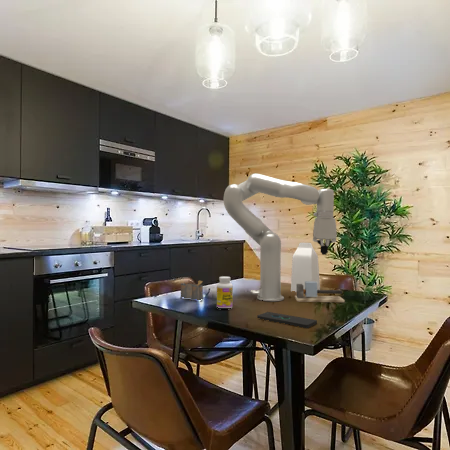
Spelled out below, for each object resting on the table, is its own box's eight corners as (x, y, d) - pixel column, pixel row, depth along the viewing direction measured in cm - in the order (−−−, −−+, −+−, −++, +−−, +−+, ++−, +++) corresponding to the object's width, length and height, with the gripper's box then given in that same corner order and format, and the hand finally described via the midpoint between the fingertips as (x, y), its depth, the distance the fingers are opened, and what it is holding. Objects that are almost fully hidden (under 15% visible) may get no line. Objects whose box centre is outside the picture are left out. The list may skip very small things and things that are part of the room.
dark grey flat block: (268, 311, 129) (317, 319, 117) (268, 315, 129) (317, 324, 117) (256, 315, 123) (307, 324, 111) (256, 320, 123) (307, 330, 110)
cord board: (297, 301, 154) (297, 286, 154) (295, 297, 162) (294, 283, 163) (344, 302, 152) (344, 286, 152) (339, 298, 161) (339, 283, 161)
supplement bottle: (221, 310, 135) (221, 278, 136) (214, 307, 141) (214, 276, 141) (235, 309, 138) (235, 277, 139) (228, 305, 144) (228, 275, 144)
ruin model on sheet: (203, 301, 155) (203, 280, 155) (199, 302, 153) (199, 281, 153) (185, 298, 162) (185, 278, 162) (180, 299, 159) (180, 279, 159)
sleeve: (306, 296, 156) (306, 282, 156) (304, 295, 160) (304, 281, 160) (317, 296, 155) (317, 282, 155) (315, 295, 159) (315, 281, 159)
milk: (290, 291, 180) (290, 242, 180) (299, 288, 189) (299, 242, 190) (312, 293, 173) (312, 243, 174) (320, 290, 183) (319, 242, 183)
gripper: (310, 214, 155) (309, 254, 154) (343, 215, 153) (342, 255, 153) (307, 215, 162) (306, 253, 162) (339, 216, 161) (338, 254, 160)
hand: (324, 254), depth 157 cm, fingers closed
